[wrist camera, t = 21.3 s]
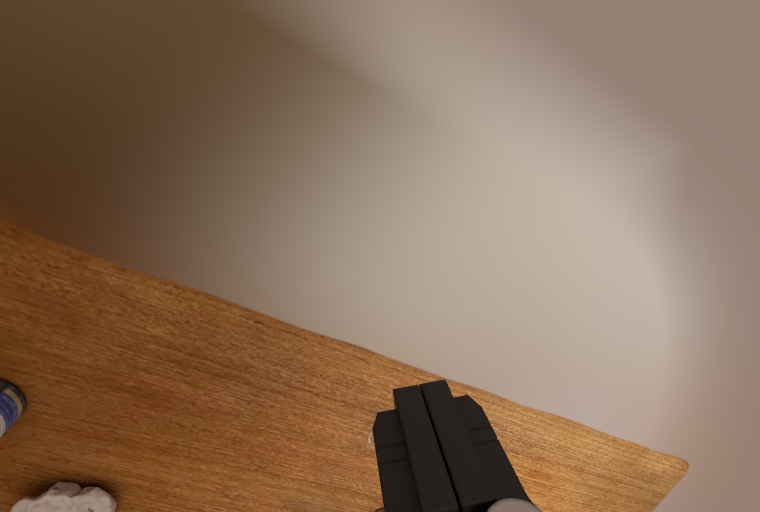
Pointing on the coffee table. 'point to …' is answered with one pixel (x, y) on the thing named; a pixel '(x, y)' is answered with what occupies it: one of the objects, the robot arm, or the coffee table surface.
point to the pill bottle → (10, 405)
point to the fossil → (68, 500)
